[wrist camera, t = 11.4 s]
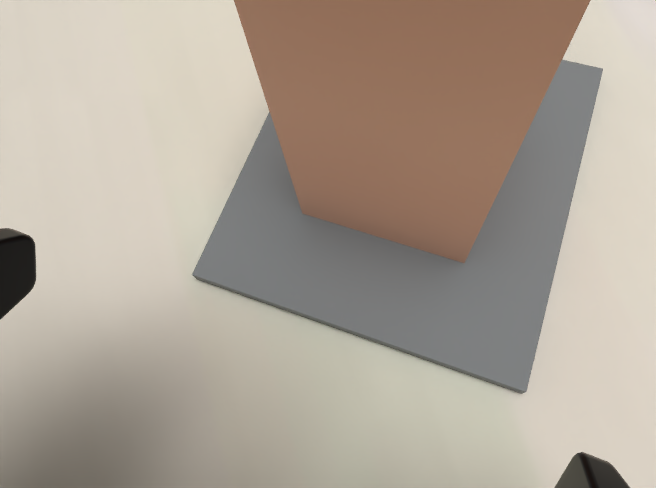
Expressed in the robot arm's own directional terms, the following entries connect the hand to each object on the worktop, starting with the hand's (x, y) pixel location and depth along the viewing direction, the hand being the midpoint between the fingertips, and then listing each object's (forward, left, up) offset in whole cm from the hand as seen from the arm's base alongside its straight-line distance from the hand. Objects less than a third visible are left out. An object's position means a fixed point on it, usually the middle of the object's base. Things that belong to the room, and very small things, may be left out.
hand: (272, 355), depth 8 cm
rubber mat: (+8, +1, -9) cm, 12 cm away
